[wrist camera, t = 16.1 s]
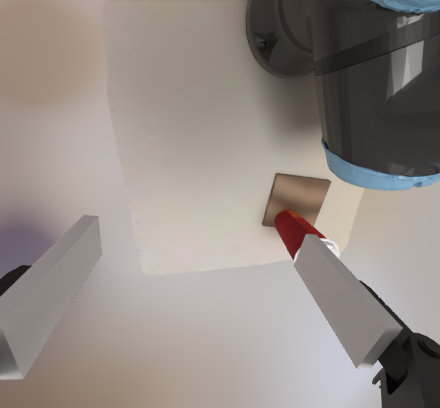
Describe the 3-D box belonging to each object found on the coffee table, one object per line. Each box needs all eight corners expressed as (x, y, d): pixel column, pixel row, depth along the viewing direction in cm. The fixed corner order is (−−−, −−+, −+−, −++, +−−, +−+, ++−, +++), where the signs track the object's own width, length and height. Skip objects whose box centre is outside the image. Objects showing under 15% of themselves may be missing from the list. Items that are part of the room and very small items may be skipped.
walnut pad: (276, 173, 42) (278, 174, 42) (328, 180, 44) (331, 181, 44) (262, 223, 47) (263, 225, 46) (309, 227, 49) (312, 230, 48)
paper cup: (270, 237, 48) (297, 284, 35) (268, 208, 45) (297, 248, 32) (303, 230, 48) (341, 274, 36) (303, 201, 45) (345, 238, 32)
